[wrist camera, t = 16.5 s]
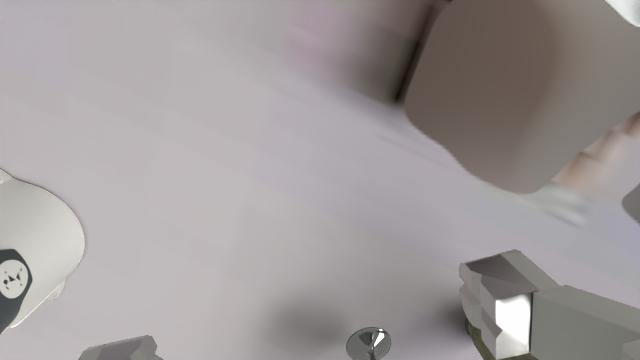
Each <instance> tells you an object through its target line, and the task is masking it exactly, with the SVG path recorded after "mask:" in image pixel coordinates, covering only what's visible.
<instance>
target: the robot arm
mask: <svg viewBox="0 0 640 360" xmlns="http://www.w3.org/2000/svg"><path fill="white" fill-rule="evenodd" d="M84 247H85V239H84V233H83V230H82V227H81V225H80V222H79V221H78V219H77V217H76V216H75V214H74V213H73V212H72V210H71V209H70V208H69V207H68V206H67V205H66V204H65V203H64V202H63V201H61V200H60V199H59V198H58V197H56V196H55V195H53V194H52V193H50V192H48V191H46V190H44V189H42V188H40V187H37V186H35V185H32V184H28V183H25V182H22V181H19V180H17V179H14V178H13V177H11V176H10V175H8V174H7V173H5V172H4V171H3V170H1V169H0V336H1V335H2V334H3V333H4V332H5V331H6V330H7V328H8V327H9V328H13V327H15V326H17V325H18V324H19V323H21V322H22V321H23V320H24V319H25V318H26V317H27V316H28V315H29V314H30V313H31V312H32V311H34V310H35V309H36V308H37V307H38V306H39V305H40V304H41V303H42V302H43V301H46V300H53V299H55V298H57V297H58V296H59V295H60V294H61V293H62V291H63V288H64V285H65V280H66V278H67V276H68V275H69V274H70V273H71V272H72V271H73V270H74V269H75V268H76V266H77V265H78V264H79V262H80V260H81V258H82V256H83V253H84ZM459 277H460V278H461V279H462V280H463V282H464V284H463V286H462V287H461V289H460V297H461V303H462V306H463V310H464V312H465V314H466V316H467V318H468V320H469V321H470V323H471V324H472V326H474V327H476V328H478V329H480V330H481V338H482V340H483V342H484V343H485V345H486V346H487V347H488V349H489V350H490V352H491V353H492V355H493V356H494V358H495V359H496V360H498V359H503V358H508V357H512V356H517V355H522V354H526V353H531V355H532V356H534V357H536V358H537V359H539V360H640V309H638V308H635V307H632V306H629V305H626V304H623V303H620V302H617V301H614V300H611V299H608V298H605V297H602V296H599V295H596V294H593V293H589V292H586V291H583V290H580V289H577V288H574V287H571V286H568V285H564V286H560V285H559V284H557V283H556V282H555V281H554V280H553V279H552V278H551V277H549V276H548V275H547V274H546V273H545V272H544V271H542V270H541V269H540V268H539V267H538V266H537V265H536V264H534V263H533V262H532V261H531V260H530V259H529V258H527V257H526V256H525V255H524V254H523V253H522V252H521V251H519V250H516V249H515V250H511V251H507V252H503V253H499V254H497V255H493V256H489V257H485V258H480V259H476V260H472V261H468V262H464V263H460V266H459ZM156 348H157V345H156V343H155V341H154V339H153V337H152V336H149V335H146V336H141V337H136V338H131V339H126V340H121V341H117V342H112V343H108V344H103V345H99V346H94V347H89V348H88V349H86V350H85V351H83V353H82V355H81V356H80V358H79V360H163V359H162V358H160V357H159V356H157V355H155V351H156Z"/></svg>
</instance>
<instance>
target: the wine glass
mask: <svg viewBox="0 0 640 360" xmlns="http://www.w3.org/2000/svg"><path fill="white" fill-rule="evenodd" d="M390 347H391V338H390V336H389V334H388V333H387V332H385V331H384V330H382V329H379V328H374V327H373V328H365V329H362V330H360V331H358V332H356V333H355V334H353V335H352V336H351V338H350V339H349V341H348V343H347V352H348V355H349V356H350V357H351V358H352V359H353V360H379V359H381V358H383V357H384V356H385V355H386V354H387V353H388V351H389V349H390Z"/></svg>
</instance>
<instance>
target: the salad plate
mask: <svg viewBox="0 0 640 360" xmlns="http://www.w3.org/2000/svg"><path fill="white" fill-rule="evenodd" d="M604 1H605V2H606V3H607V4H608V5H609V6H610V7H611V8H613V10H614V11H615V12H616V13H618V14H619V16H621V17H622V18H623V19H624V20H625V21H626V22H628V23H629V24H631V25H633V26H635V27H640V0H604Z"/></svg>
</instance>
